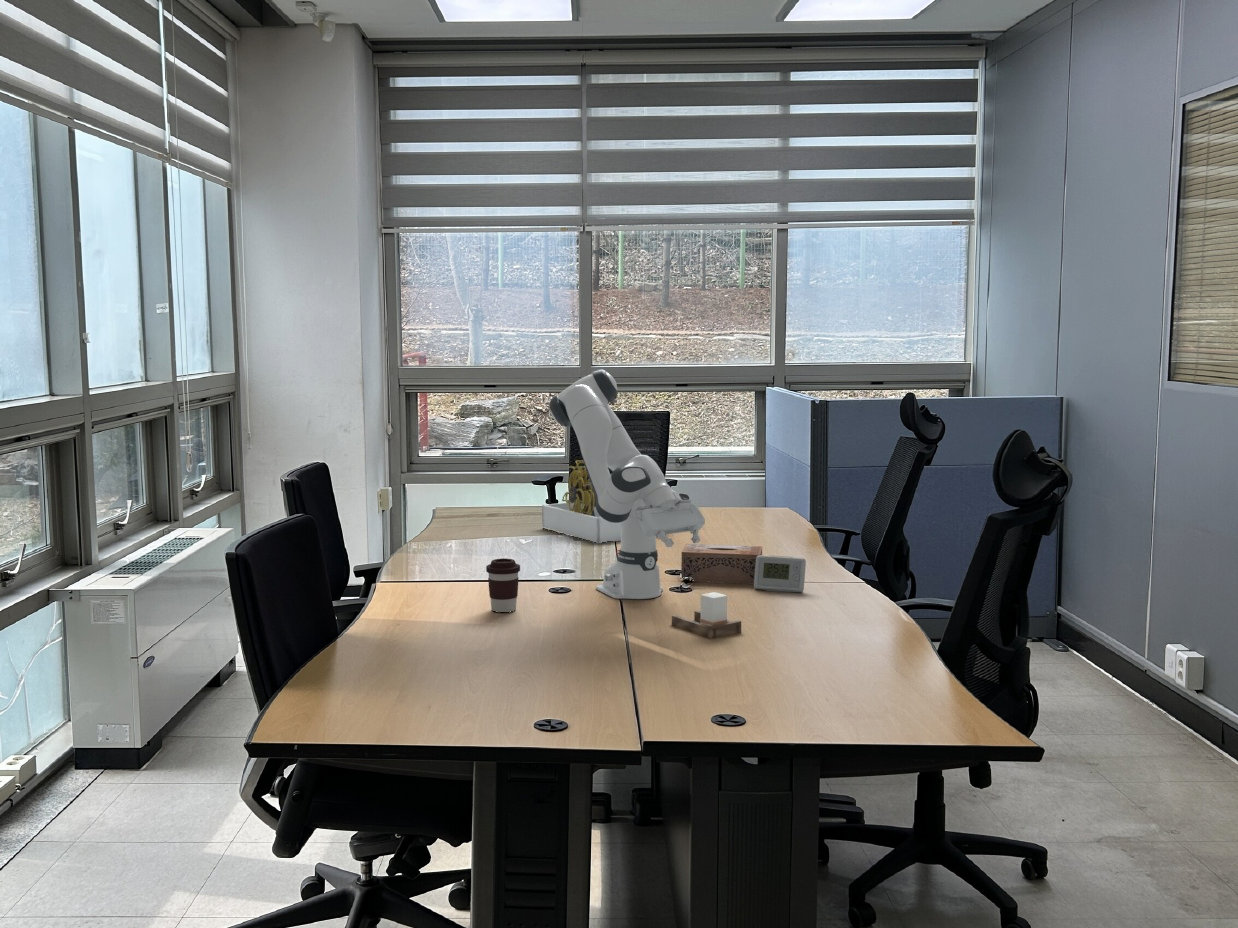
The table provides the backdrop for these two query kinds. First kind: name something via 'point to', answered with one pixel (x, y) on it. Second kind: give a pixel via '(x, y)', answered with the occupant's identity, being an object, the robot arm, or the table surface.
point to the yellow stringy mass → (581, 492)
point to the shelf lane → (705, 630)
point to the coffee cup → (503, 584)
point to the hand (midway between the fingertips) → (684, 543)
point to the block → (713, 609)
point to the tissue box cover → (719, 563)
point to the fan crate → (579, 523)
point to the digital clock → (779, 573)
